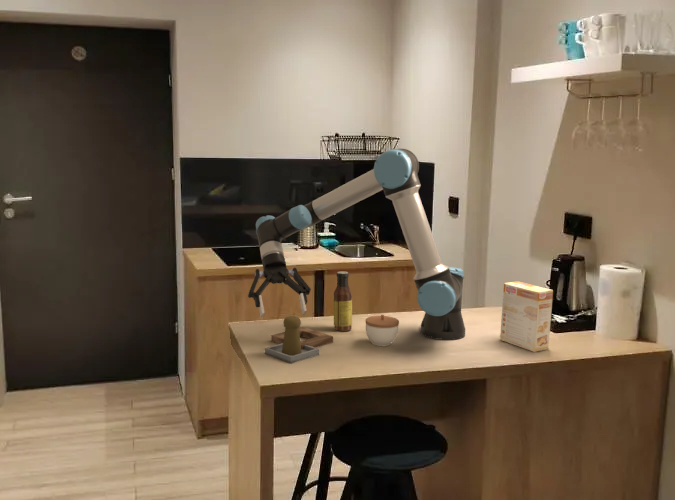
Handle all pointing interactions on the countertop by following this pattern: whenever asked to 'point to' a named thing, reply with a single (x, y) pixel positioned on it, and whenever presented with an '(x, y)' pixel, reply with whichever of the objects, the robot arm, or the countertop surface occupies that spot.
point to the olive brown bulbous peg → (291, 336)
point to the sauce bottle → (342, 303)
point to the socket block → (314, 337)
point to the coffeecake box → (526, 316)
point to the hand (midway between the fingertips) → (283, 314)
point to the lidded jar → (381, 329)
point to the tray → (277, 353)
